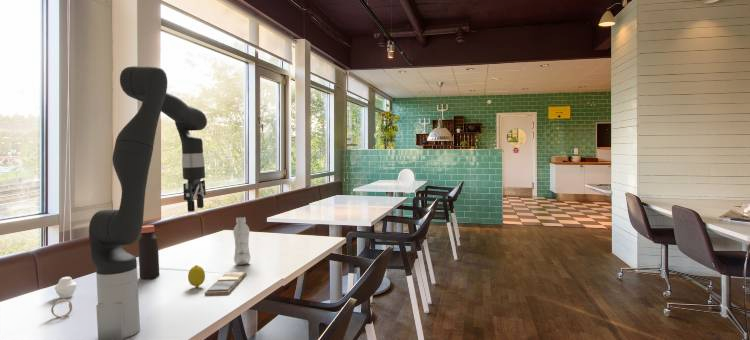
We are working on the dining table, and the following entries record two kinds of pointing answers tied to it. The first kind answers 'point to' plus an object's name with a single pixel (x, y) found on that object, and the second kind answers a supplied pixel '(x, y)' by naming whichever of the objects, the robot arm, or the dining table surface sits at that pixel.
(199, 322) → the dining table surface
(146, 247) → the vinegar
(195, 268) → the lemon
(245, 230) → the plastic bottle
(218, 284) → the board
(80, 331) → the dining table surface
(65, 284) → the muffin
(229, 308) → the dining table surface
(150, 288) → the dining table surface
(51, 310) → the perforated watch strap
